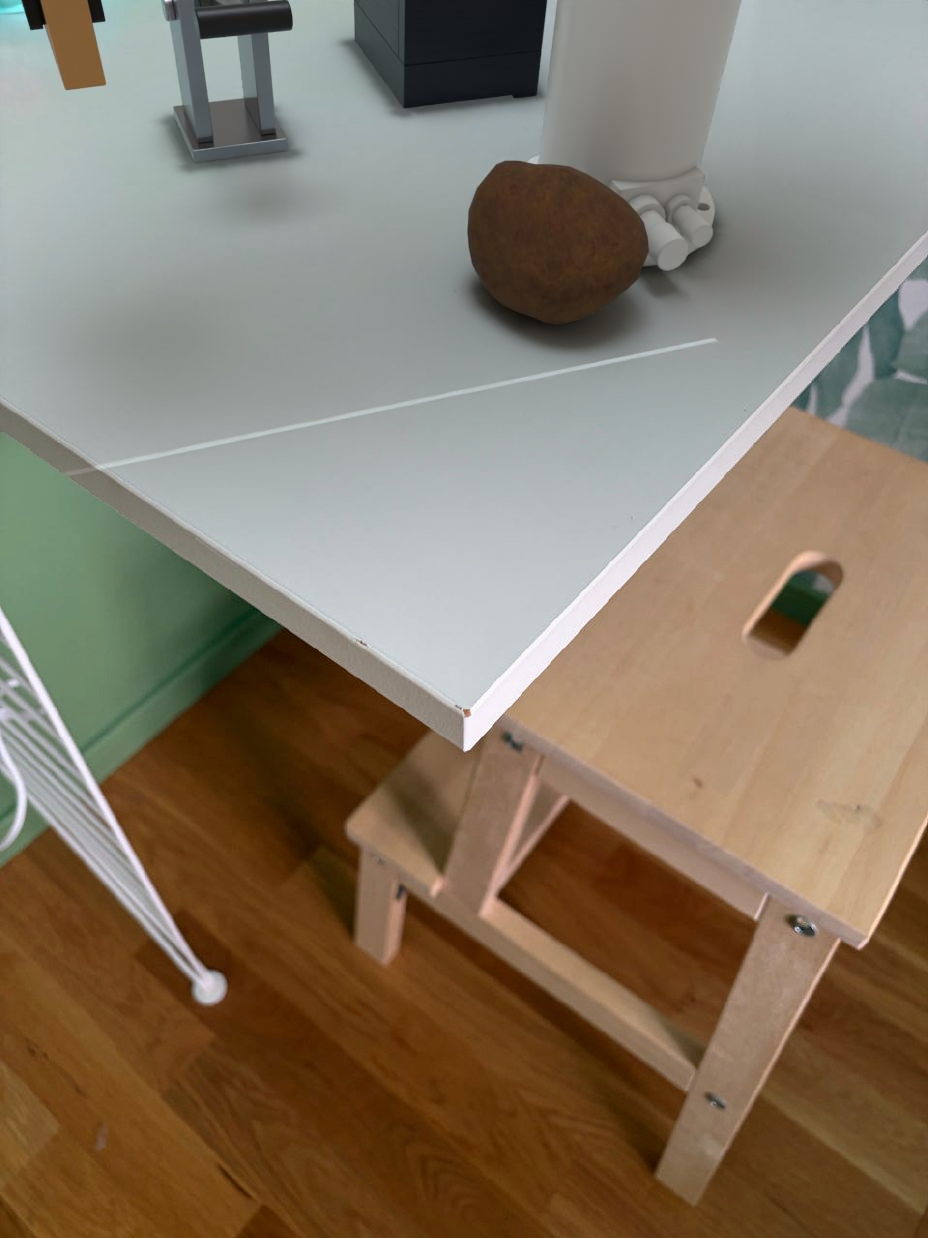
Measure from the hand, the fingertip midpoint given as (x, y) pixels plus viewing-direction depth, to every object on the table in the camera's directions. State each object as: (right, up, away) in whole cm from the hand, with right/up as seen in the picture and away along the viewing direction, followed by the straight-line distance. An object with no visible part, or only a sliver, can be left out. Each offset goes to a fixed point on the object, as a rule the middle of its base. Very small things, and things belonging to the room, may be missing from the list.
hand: (62, 8), depth 41 cm
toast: (0, -1, +1) cm, 2 cm away
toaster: (+15, +16, +33) cm, 40 cm away
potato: (+21, -7, +16) cm, 27 cm away
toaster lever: (+3, +9, +17) cm, 19 cm away
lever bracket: (+1, +7, +25) cm, 26 cm away
